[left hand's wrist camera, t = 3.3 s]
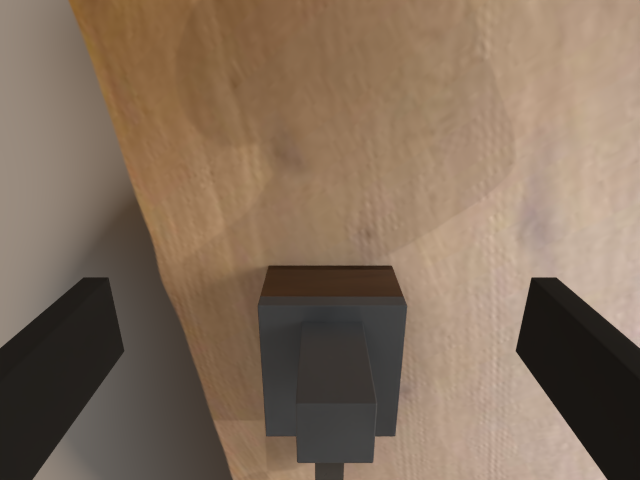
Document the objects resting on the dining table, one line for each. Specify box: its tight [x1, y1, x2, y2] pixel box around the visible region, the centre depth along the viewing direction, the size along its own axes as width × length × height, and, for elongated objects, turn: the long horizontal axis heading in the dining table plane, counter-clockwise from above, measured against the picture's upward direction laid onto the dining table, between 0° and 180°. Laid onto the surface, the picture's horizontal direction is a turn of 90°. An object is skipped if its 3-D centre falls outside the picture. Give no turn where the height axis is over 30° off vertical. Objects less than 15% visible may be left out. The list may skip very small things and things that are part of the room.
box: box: [260, 266, 403, 480], centre depth 41 cm, size 24×12×6 cm, turn 0°
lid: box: [258, 297, 407, 463], centre depth 33 cm, size 14×12×12 cm
